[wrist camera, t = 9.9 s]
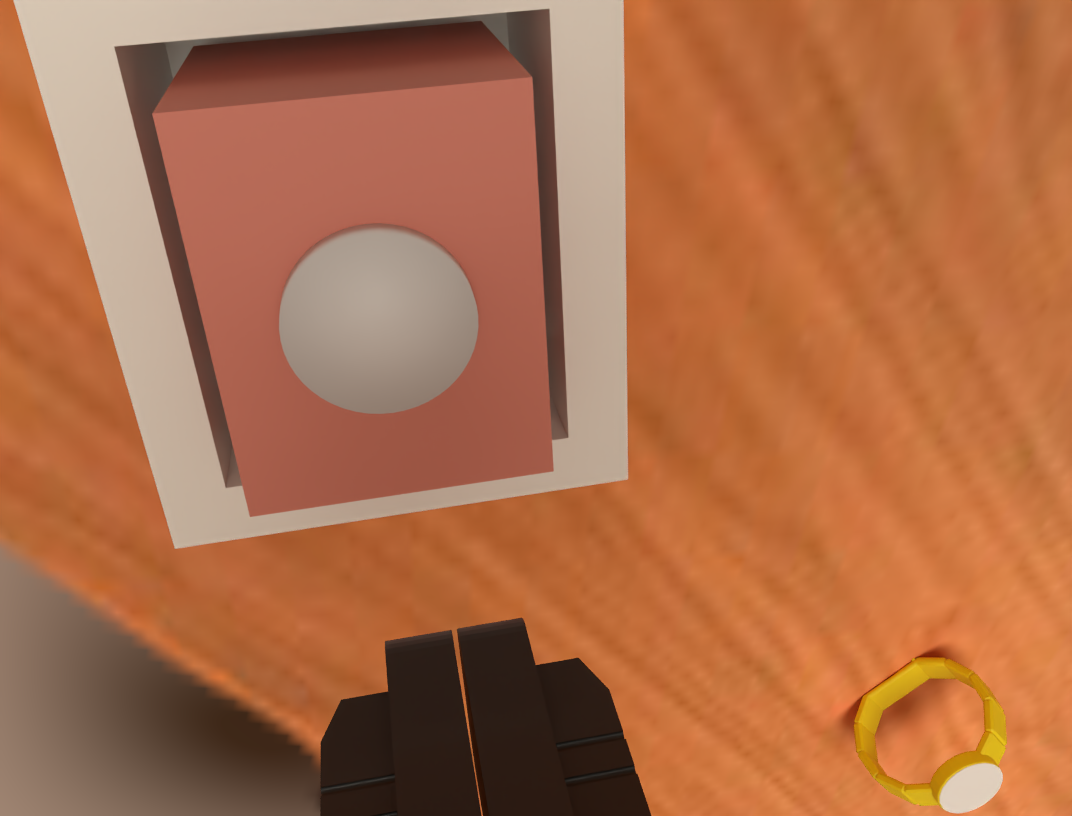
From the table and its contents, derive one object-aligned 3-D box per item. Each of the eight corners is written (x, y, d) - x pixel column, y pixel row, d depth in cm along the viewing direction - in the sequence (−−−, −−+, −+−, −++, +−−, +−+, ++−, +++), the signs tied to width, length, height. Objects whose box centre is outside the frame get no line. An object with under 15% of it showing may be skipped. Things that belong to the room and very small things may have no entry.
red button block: (481, 20, 25) (538, 83, 19) (506, 343, 30) (559, 485, 23) (193, 46, 24) (146, 121, 18) (264, 375, 29) (248, 532, 22)
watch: (931, 625, 43) (1022, 722, 38) (959, 656, 45) (1050, 754, 39) (824, 712, 44) (899, 819, 39) (854, 740, 45) (930, 847, 40)
